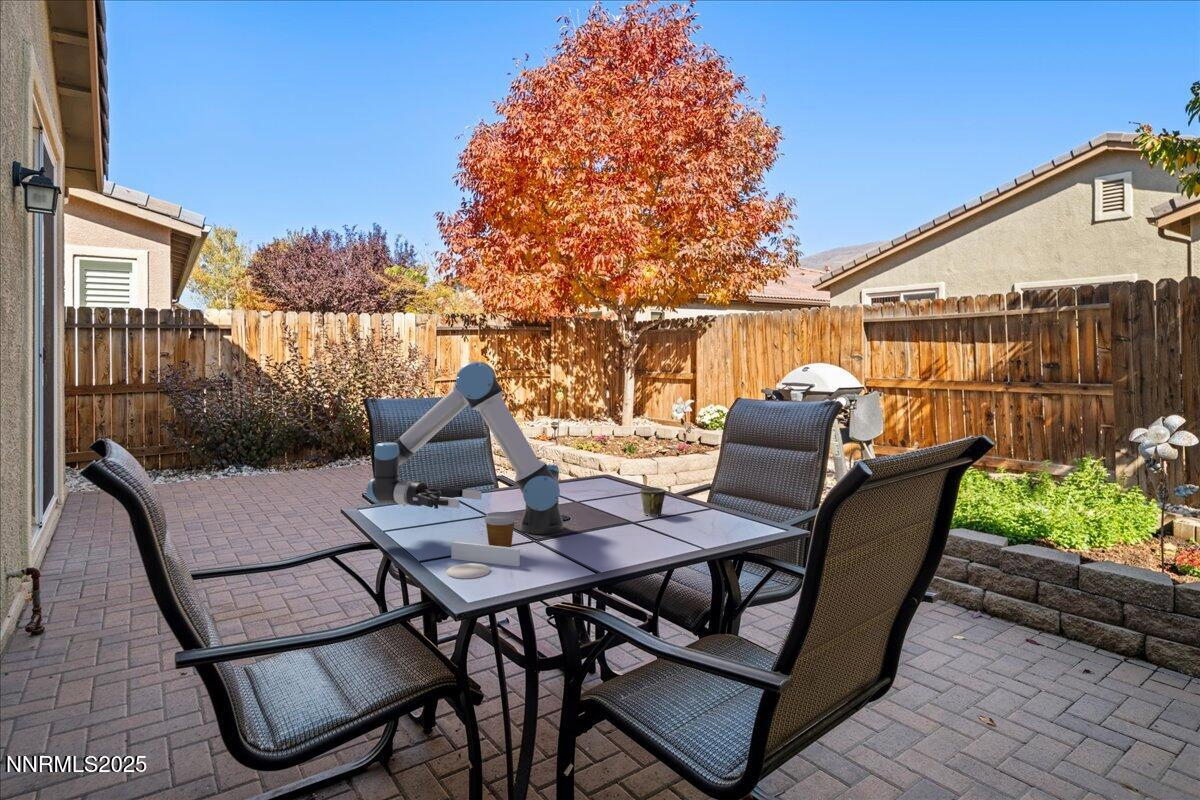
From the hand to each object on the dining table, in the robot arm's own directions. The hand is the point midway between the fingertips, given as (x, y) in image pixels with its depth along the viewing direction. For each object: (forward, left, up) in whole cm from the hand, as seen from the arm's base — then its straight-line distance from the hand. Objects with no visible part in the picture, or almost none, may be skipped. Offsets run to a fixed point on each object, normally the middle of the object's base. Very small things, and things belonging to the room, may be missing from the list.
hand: (470, 499), depth 204 cm
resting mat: (-5, +21, -16) cm, 27 cm away
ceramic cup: (-57, -54, -16) cm, 80 cm away
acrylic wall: (-8, +12, -16) cm, 21 cm away
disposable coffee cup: (-10, +2, -16) cm, 19 cm away
